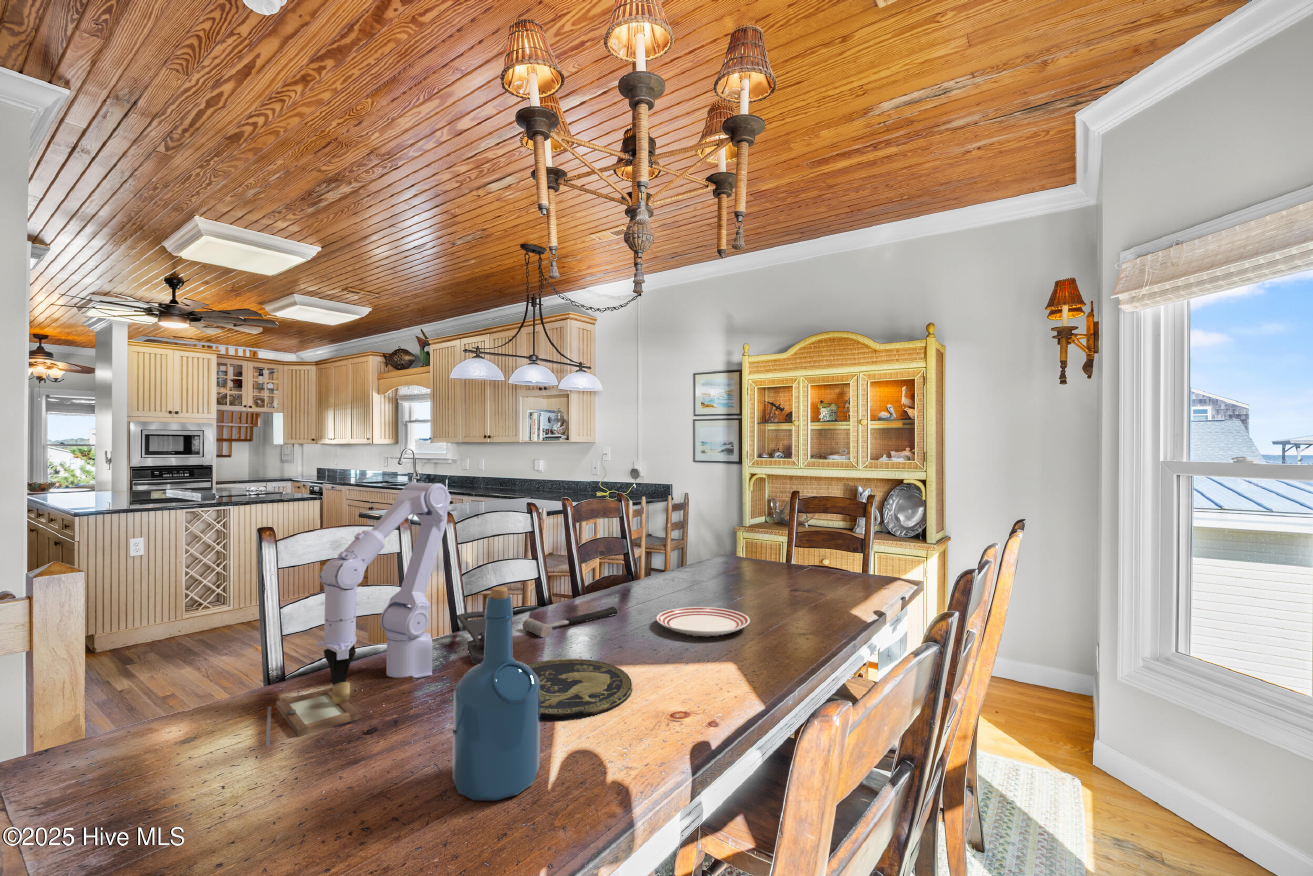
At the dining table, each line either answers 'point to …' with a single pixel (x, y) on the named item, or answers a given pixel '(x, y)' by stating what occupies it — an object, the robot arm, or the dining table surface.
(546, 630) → the rubber mallet
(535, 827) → the dining table surface
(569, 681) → the decorative plate
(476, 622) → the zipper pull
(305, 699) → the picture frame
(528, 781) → the wine bottle
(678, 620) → the dinner plate
